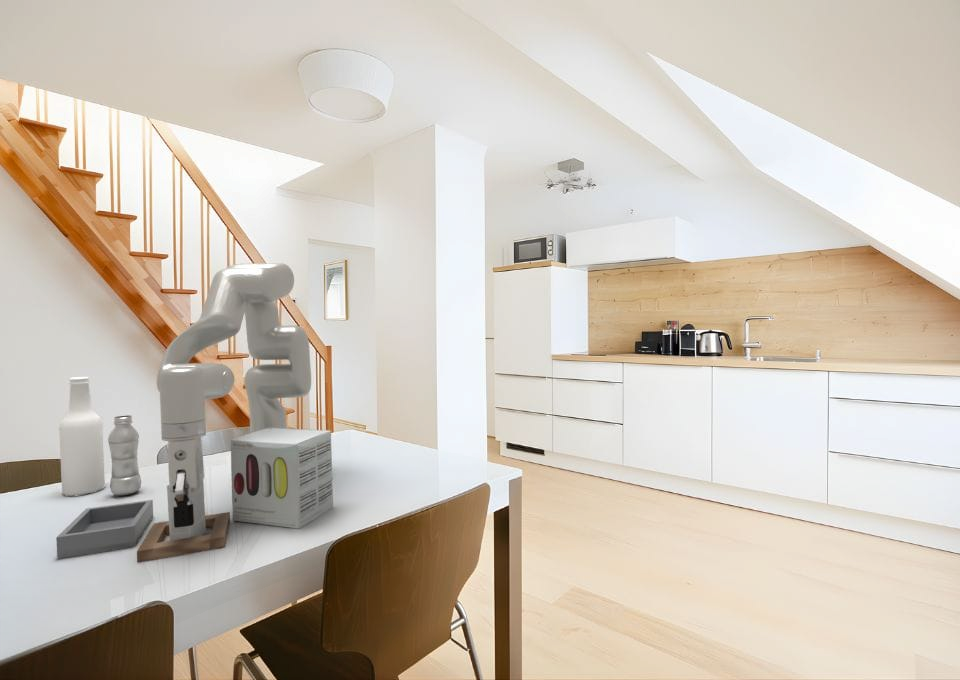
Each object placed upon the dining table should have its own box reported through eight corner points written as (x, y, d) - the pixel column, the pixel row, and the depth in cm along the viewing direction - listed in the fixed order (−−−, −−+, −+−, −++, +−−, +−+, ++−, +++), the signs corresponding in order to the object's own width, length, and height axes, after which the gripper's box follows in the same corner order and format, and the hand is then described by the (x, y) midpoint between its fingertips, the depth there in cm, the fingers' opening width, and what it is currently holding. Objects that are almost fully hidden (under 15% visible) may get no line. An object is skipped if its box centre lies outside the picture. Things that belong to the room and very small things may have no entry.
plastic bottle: (125, 499, 122) (122, 419, 122) (103, 497, 124) (100, 418, 123) (148, 490, 129) (145, 414, 128) (126, 489, 130) (123, 414, 130)
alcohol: (81, 485, 134) (77, 375, 133) (113, 485, 134) (108, 375, 133) (52, 497, 125) (47, 379, 124) (86, 496, 125) (81, 378, 124)
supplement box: (230, 522, 106) (227, 439, 106) (271, 501, 119) (269, 426, 119) (299, 529, 102) (297, 442, 101) (335, 506, 114) (332, 429, 114)
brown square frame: (230, 521, 107) (229, 511, 107) (224, 547, 94) (224, 536, 94) (154, 532, 102) (153, 523, 101) (137, 562, 89) (136, 551, 89)
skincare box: (184, 533, 101) (182, 475, 100) (206, 532, 101) (204, 474, 101) (168, 547, 95) (166, 485, 94) (191, 545, 95) (189, 484, 95)
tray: (153, 517, 110) (152, 499, 110) (135, 546, 95) (134, 525, 95) (87, 527, 105) (86, 508, 105) (57, 559, 91) (56, 537, 90)
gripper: (199, 436, 91) (203, 532, 91) (210, 420, 107) (213, 502, 107) (151, 440, 88) (155, 539, 88) (170, 423, 104) (173, 507, 104)
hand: (187, 518), depth 98 cm, fingers closed on skincare box, 6 cm apart
